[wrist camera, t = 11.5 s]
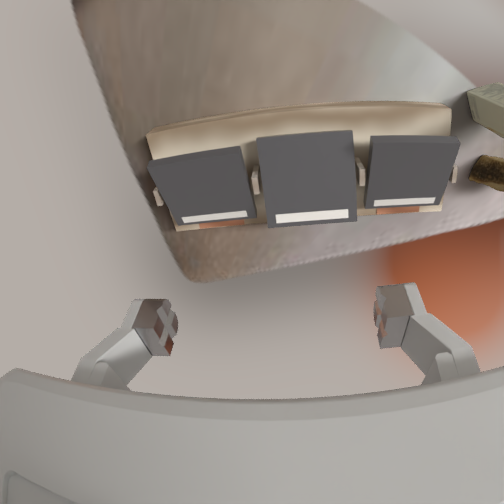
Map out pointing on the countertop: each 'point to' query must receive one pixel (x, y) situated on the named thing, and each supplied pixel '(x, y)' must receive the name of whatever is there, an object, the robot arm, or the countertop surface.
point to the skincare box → (488, 107)
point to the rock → (489, 172)
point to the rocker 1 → (205, 186)
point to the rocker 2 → (408, 170)
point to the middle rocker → (308, 178)
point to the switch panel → (301, 121)
